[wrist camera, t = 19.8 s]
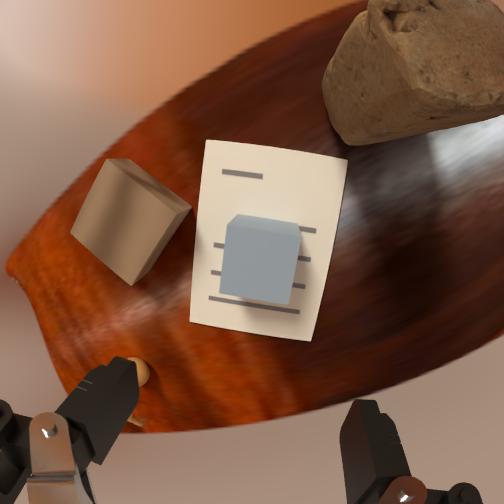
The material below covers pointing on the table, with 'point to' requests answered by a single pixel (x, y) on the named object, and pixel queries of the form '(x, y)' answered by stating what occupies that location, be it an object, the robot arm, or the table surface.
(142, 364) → the figurine
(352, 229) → the table surface
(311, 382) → the table surface
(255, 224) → the slate cube
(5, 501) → the robot arm
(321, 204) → the letter
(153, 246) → the walnut block
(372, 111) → the block
